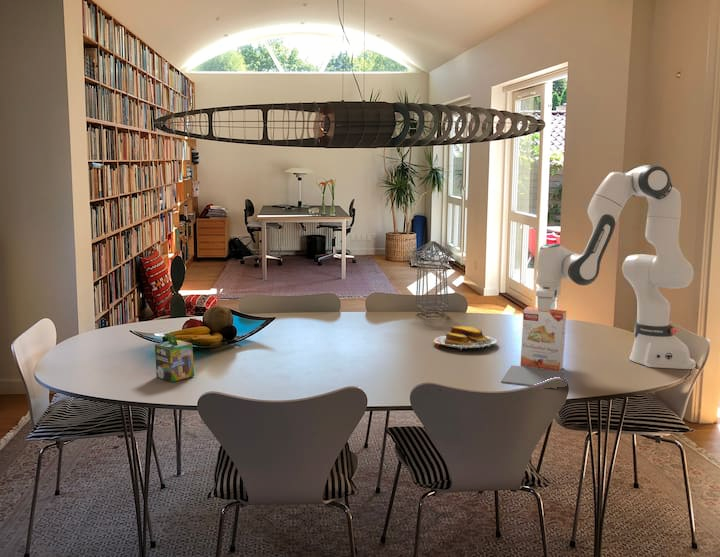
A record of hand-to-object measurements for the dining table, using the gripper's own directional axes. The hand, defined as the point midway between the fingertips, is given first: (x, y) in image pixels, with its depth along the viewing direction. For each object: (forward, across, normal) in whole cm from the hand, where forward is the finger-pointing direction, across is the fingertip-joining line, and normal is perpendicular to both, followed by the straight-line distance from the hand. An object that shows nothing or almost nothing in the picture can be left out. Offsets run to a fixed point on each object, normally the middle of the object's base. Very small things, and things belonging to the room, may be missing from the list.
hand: (546, 326), depth 263 cm
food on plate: (+14, -11, -32) cm, 37 cm away
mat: (+13, +22, -1) cm, 26 cm away
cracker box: (+14, +8, 0) cm, 16 cm away
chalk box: (+14, +69, -112) cm, 132 cm away
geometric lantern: (+13, -61, -60) cm, 87 cm away
